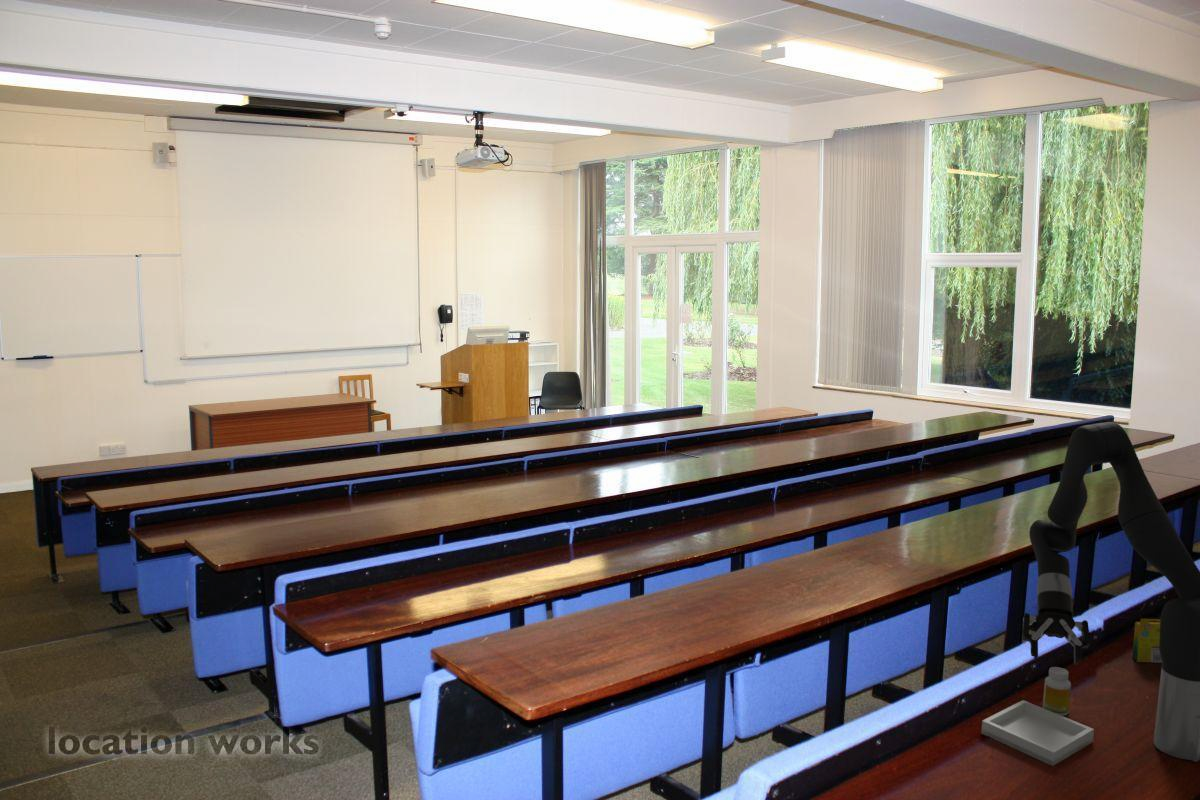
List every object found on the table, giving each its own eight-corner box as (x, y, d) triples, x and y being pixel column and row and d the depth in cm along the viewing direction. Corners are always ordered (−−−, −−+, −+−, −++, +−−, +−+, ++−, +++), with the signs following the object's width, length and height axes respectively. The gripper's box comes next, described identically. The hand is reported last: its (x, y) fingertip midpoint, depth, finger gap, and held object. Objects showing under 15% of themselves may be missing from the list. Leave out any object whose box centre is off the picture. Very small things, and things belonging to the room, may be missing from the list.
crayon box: (1161, 658, 243) (1166, 615, 241) (1167, 663, 240) (1171, 620, 238) (1131, 657, 244) (1135, 614, 242) (1136, 662, 241) (1140, 618, 239)
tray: (1092, 742, 202) (1094, 729, 202) (1052, 766, 193) (1054, 752, 192) (1022, 712, 215) (1023, 700, 214) (981, 733, 206) (982, 720, 205)
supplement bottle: (1071, 717, 213) (1075, 677, 211) (1045, 715, 214) (1049, 674, 212) (1065, 706, 218) (1068, 666, 216) (1039, 703, 219) (1043, 664, 217)
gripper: (1023, 585, 227) (1024, 650, 219) (1090, 593, 223) (1093, 659, 214) (1020, 599, 233) (1020, 662, 224) (1084, 606, 229) (1087, 671, 220)
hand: (1056, 660), depth 219 cm, fingers open, 8 cm apart
